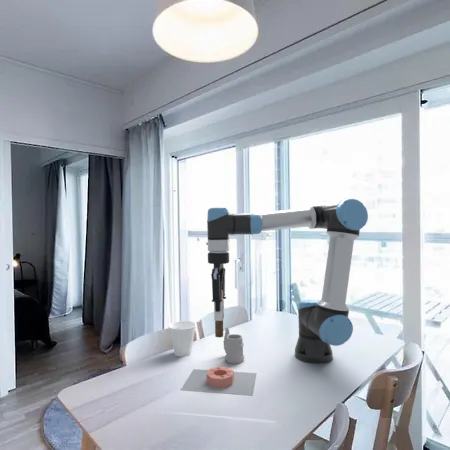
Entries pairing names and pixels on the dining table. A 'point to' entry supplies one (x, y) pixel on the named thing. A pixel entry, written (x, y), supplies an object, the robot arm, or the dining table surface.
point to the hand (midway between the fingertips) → (219, 318)
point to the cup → (182, 337)
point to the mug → (233, 347)
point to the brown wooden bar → (219, 323)
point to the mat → (240, 386)
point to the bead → (220, 377)
